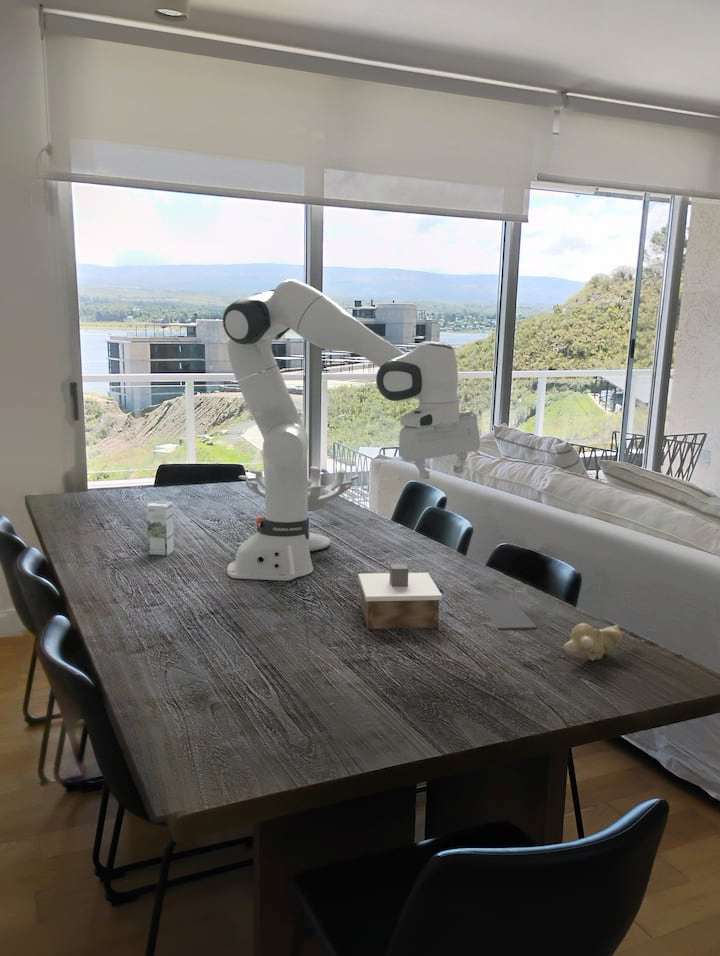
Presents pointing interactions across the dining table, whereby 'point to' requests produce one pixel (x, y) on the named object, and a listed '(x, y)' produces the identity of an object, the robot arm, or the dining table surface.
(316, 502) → the candelabra
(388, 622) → the walnut box
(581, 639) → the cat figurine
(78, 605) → the dining table surface
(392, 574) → the lid
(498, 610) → the rubber mat
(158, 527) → the syrup box
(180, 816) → the dining table surface
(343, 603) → the dining table surface
